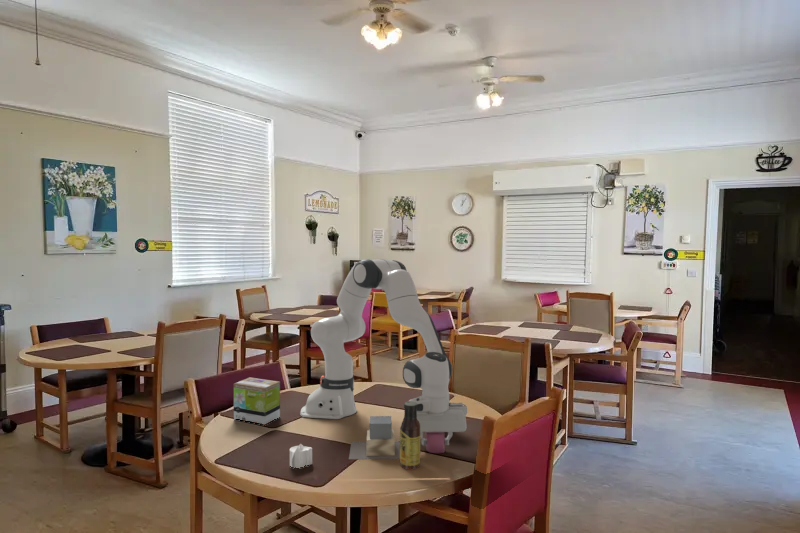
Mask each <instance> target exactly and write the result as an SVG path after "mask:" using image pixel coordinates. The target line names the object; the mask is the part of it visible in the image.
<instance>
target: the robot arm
mask: <svg viewBox="0 0 800 533" xmlns="http://www.w3.org/2000/svg"><path fill="white" fill-rule="evenodd" d="M372 289H373V290H383V291H384V293H385V297H386V302H387V307H388V312H389V314H390V317H391V319H393V320H394V321H395V322H396V323H397V324H399V325H401V326H404V327H408V328H410V329H413V330H414V331H417V332H418V333H419V335H420V336H421V338H422V340H423V343H424V345H425V348H426V350H427V353H426V352H425V354H424V355H423V356H421V357H418V358H414V359H410V360H408V361H407V360H406V362H405V364H404V365H403V367H402V378H403V379H402V380H403V382H404V383H405V384H406V386H408V387H409V388H412V389H421V390H422V392H421V393H422V394H421V395H420V396H417V397H414V398H411V399H409V400H408V401H413V402H416V403H417V420H418V421H419V423H420V441H421V445H422V446H426V445H427V443H426V442H427V440H426V437H424V433H426V432H444V433H447V436H446V437H445V446H449V445H450V440H451V438H452V437H453V433H464V432H465V431H467V427H468V426H467V419H466V416H467V414H468V406H467V404H464V403H463V402H450V392H449V384H450V379H451V377H452V375H453V365H452V363H451V360H450V359H449V357H448V355H447V353H446V351H445V349H444V346H443V344H442V341H441V339H440V335H439V333H438V330H437V328H436V325H435V324H434V321H433V319H432V317H431V315H430V314H429V313H428V312H427V311H426V310H425V309H424V308H423V306H422V304H421V302H420V300H419V296H418V293H417V288H416V286H415V283H414V281H413V278H412V276H411V274H410V272H409V271H408V270H407V268H406V266H405V264H403V263H402V262H401V261H398V260H394V259H393V260H392V259H387V258H386V259H385V258H380V259H379V258H378V259H376V258H375V259H370V258H369V259H367V258H365V259H361V260H359V261H357V263H355V264H354V265H353V266H352V268H351V269H350V270H349V272H348V274H347V276H346V277H345V279H344V282H343V284H342V287H341V288H340V290H339V293H338V296H337V297H336V298H337V299H336V304H337V307H338V309H340V312H339V313H338V315H336V316H329V317H328V316H327V317H324V318H321V319H319V320H317V321H315V322H313V323H312V326H311V329H310V336H311V339H312V341H313V343H315V344H316V345H317V346H318V347H319V348H320V350H321V351H322V352H321V353H322V354H323V358H324V372H325V374H324V375H321V377H320V378H319V379H320V380H319V385H320V386H319V387H318V388H316V389H315V390H314V391H312V392H311V393H310V394H309V396H308V397H307V400H306V402H305V403H306V404H305V405H304V406H302V408H301V409H300V412H299V414H300V416H301V417H302V418H313V419H327V420H328V419H329V420H340V419H342V418H346V417H348V416H352V415H355V413H357V406H356V402H355V397H354V396H355V395H354V390H355V378H354V375H353V373H354V369H353V368H354V367H353V366H354V365H353V357H352V355H351V354H349V353H348V352H346V350H345V344H344V343H349V342H353V341H355V340H358V339H359V338H361V337H363V335H364V334H365V332H366V328H367V327H366V322H365V321H364V318H363V311H364V308H365V306H366V305H367V304H366V303H367V301H368V299H369V297H370V295H371V292H372Z"/></svg>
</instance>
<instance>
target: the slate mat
mask: <svg viewBox="0 0 800 533" xmlns="http://www.w3.org/2000/svg"><path fill="white" fill-rule="evenodd" d="M348 460H400V440H397V441H396V440H395V455H390V456H366V441H351V442H350V450H349V455H348Z"/></svg>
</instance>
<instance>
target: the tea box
mask: <svg viewBox="0 0 800 533" xmlns="http://www.w3.org/2000/svg"><path fill="white" fill-rule="evenodd" d="M279 417H280V418H281V381H278V380H270V379H264V378H256V377H250V376H249V377H247V378H245V379H242V380H239V381H238V382H235V383H233V420H234V419H240V420H246V421H252V422H257V423H262V424H266V423H268V422H270V421H272V420H274V419H276V420H278V419H280V418H279ZM277 418H278V419H277ZM240 420H239V421H240ZM274 421H275V420H274Z"/></svg>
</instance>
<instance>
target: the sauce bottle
mask: <svg viewBox="0 0 800 533" xmlns="http://www.w3.org/2000/svg"><path fill="white" fill-rule="evenodd" d="M403 408H404V410H403V411H404V414H403V419H402V422H401V424H400V428H399V435H400V436H399V441H400V459H399V465H400V467H401V468H403V469H405V470H416V469H418V468H419V467H420V463H421V438H420V423H419V421H418V420H417V403H416V402H413V401H409V400H408V401H405V402H404V403H403Z"/></svg>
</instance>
